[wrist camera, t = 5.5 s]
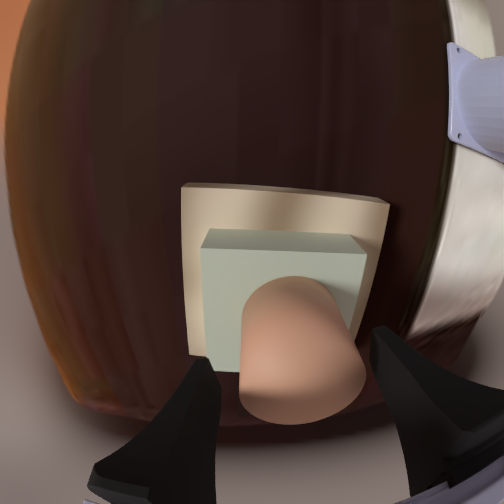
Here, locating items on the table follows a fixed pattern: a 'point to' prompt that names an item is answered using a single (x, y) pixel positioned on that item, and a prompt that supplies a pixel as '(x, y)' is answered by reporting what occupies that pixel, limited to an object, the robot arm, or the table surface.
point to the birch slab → (273, 218)
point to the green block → (269, 277)
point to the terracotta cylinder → (296, 353)
